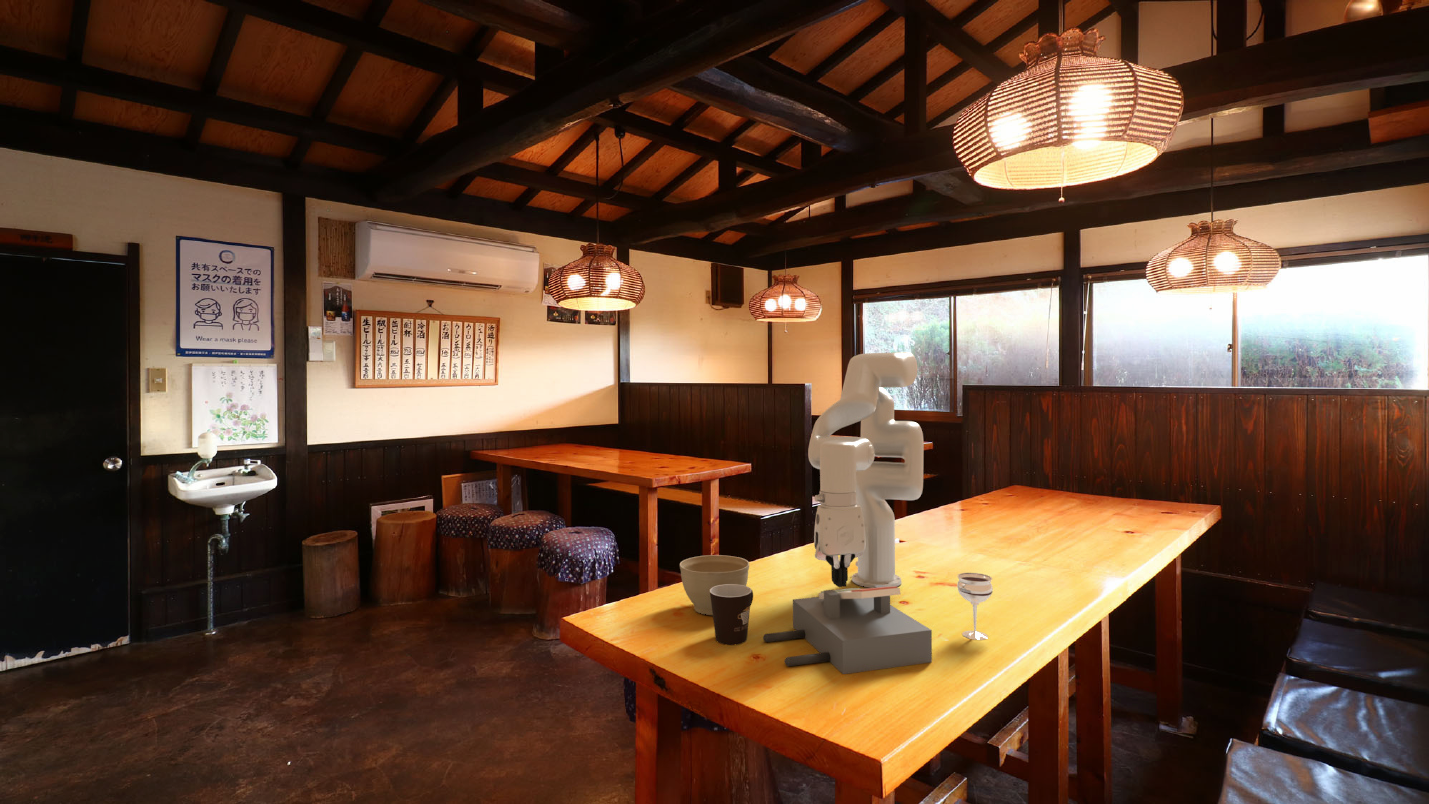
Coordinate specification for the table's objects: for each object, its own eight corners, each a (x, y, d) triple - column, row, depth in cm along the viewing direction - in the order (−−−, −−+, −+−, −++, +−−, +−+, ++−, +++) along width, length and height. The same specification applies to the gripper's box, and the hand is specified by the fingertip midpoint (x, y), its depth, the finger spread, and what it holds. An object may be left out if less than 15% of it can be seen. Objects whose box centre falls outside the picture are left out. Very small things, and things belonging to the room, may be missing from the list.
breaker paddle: (818, 600, 138) (817, 591, 139) (854, 596, 140) (853, 588, 141) (861, 599, 120) (859, 590, 120) (901, 595, 122) (900, 586, 122)
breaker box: (754, 631, 138) (753, 580, 137) (869, 618, 144) (868, 570, 144) (797, 680, 114) (796, 619, 114) (931, 662, 121) (931, 604, 121)
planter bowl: (764, 610, 151) (763, 563, 151) (709, 627, 141) (708, 577, 140) (720, 594, 163) (719, 550, 163) (666, 608, 153) (666, 562, 153)
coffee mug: (722, 650, 128) (722, 599, 128) (703, 635, 136) (702, 588, 136) (772, 639, 133) (772, 590, 133) (751, 625, 141) (750, 579, 141)
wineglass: (959, 627, 139) (959, 571, 138) (994, 632, 136) (994, 574, 135) (955, 638, 133) (954, 579, 132) (991, 643, 129) (991, 583, 129)
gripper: (812, 504, 132) (814, 594, 133) (879, 499, 136) (880, 586, 137) (798, 498, 140) (800, 583, 140) (862, 494, 143) (863, 576, 144)
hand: (839, 584), depth 138 cm, fingers closed
